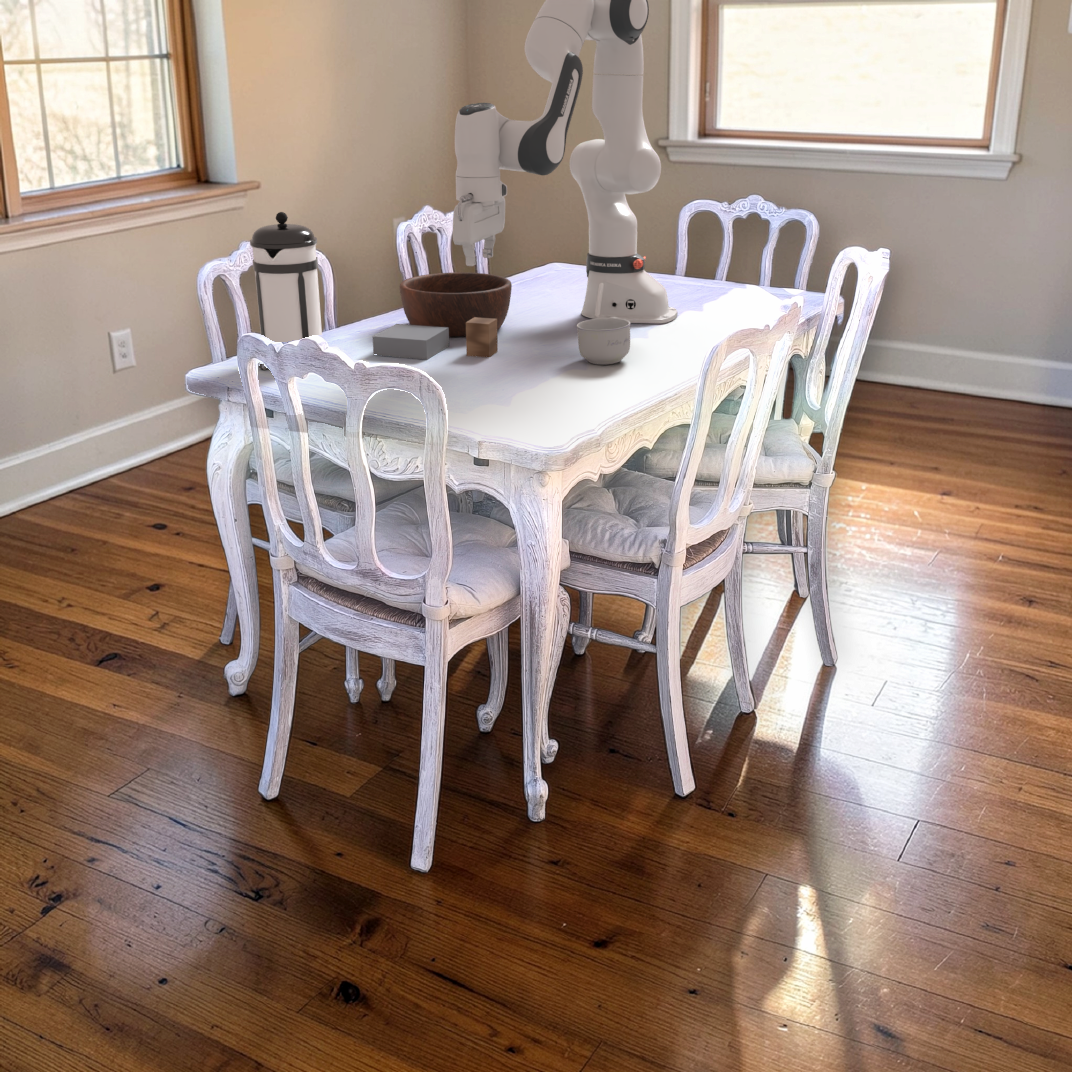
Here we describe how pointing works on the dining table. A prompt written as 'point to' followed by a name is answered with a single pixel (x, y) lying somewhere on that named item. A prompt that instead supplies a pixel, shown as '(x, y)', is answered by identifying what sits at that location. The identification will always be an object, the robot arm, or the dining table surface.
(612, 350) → the teacup
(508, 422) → the dining table surface
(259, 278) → the coffee press
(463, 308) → the wooden bowl
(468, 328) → the walnut block
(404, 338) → the block
